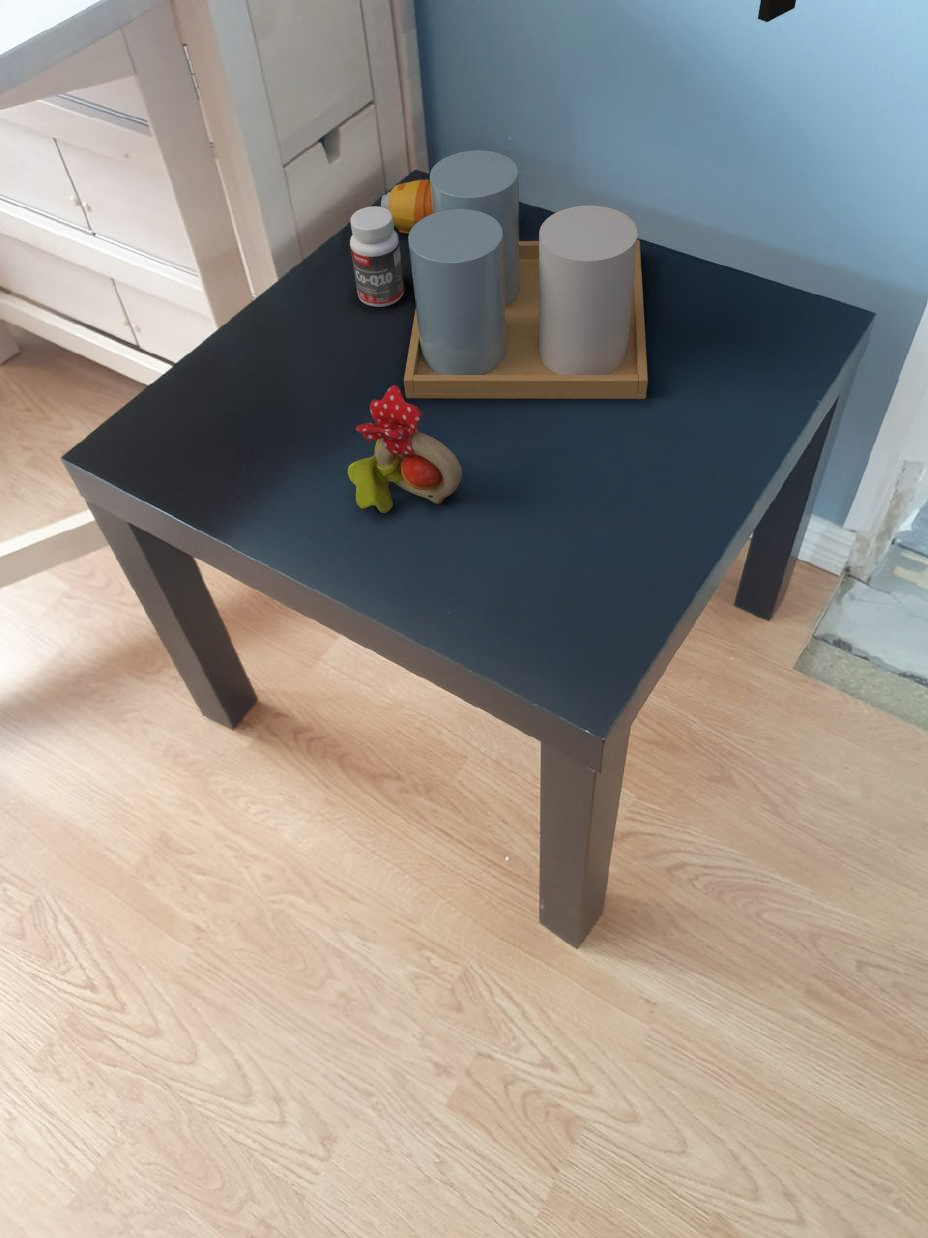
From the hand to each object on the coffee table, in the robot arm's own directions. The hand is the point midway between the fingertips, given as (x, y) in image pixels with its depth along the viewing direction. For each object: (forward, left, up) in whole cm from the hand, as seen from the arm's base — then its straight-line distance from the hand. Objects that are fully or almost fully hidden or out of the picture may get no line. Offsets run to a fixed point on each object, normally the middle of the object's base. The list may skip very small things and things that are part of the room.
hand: (867, 46), depth 60 cm
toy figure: (+31, -32, -32) cm, 55 cm away
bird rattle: (+30, +7, -32) cm, 44 cm away
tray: (+21, -16, -32) cm, 41 cm away
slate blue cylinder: (+27, -11, -31) cm, 43 cm away
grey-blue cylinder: (+26, -21, -31) cm, 45 cm away
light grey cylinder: (+16, -11, -31) cm, 37 cm away
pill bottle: (+36, -21, -32) cm, 52 cm away
